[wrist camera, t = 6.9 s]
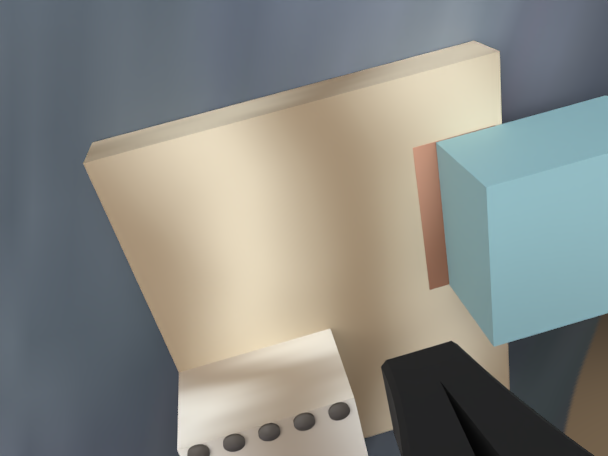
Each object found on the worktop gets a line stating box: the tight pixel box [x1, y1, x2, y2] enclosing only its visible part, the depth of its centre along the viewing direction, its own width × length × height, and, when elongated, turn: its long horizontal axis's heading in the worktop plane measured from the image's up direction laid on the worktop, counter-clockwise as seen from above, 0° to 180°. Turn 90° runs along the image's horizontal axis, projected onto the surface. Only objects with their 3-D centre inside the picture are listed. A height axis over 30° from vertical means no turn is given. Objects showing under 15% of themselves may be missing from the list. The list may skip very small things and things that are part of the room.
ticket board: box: [83, 41, 510, 456], centre depth 17 cm, size 11×13×5 cm
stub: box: [436, 96, 608, 347], centre depth 15 cm, size 5×5×3 cm
